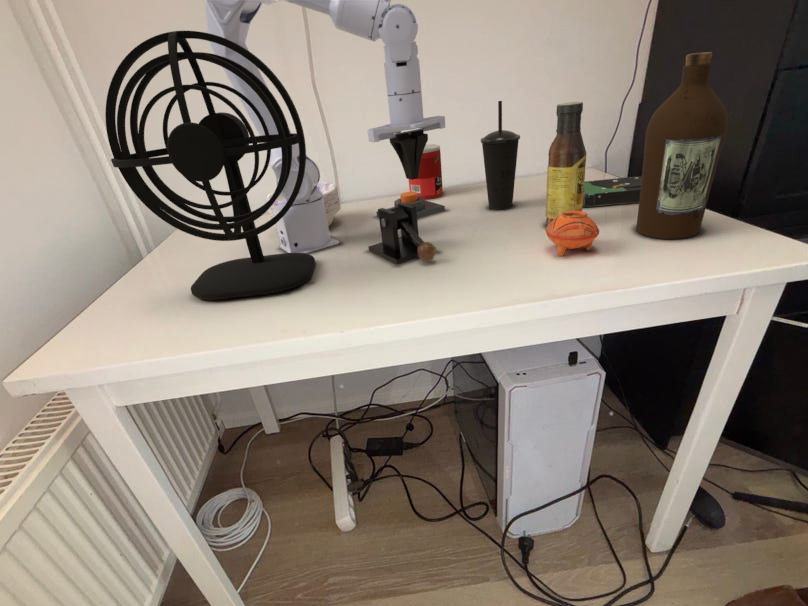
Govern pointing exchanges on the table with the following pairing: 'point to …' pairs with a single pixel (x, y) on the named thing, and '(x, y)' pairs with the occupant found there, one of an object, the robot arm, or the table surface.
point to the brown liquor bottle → (682, 155)
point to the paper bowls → (329, 200)
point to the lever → (414, 236)
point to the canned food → (428, 174)
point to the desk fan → (211, 162)
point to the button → (408, 197)
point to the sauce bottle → (566, 163)
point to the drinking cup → (500, 165)
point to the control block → (422, 207)
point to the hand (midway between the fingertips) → (412, 178)
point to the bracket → (396, 236)
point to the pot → (572, 231)
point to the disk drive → (612, 191)
